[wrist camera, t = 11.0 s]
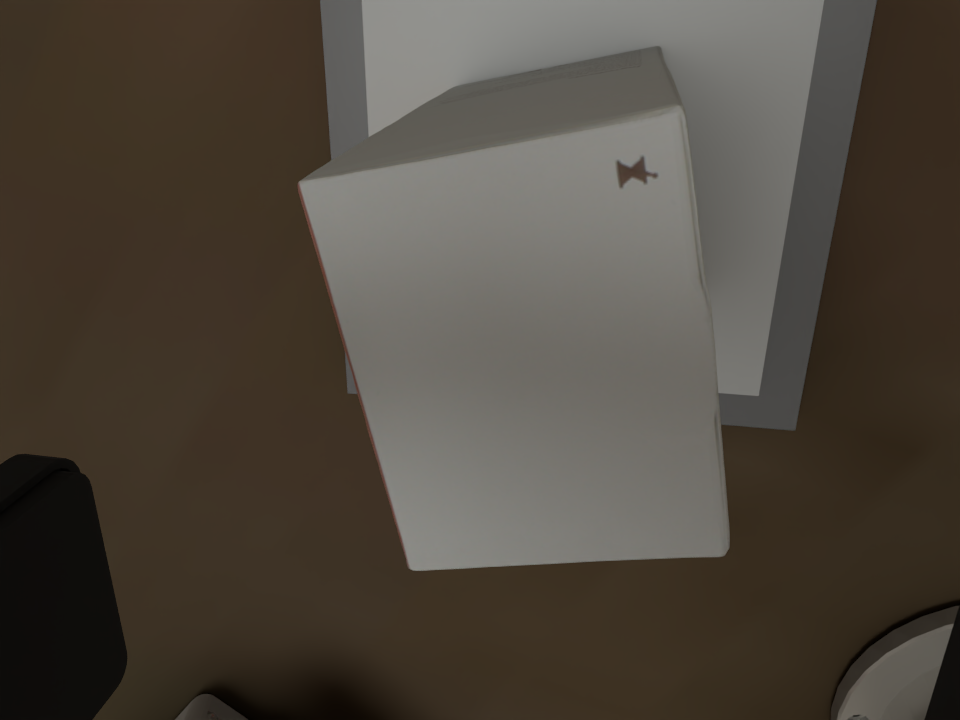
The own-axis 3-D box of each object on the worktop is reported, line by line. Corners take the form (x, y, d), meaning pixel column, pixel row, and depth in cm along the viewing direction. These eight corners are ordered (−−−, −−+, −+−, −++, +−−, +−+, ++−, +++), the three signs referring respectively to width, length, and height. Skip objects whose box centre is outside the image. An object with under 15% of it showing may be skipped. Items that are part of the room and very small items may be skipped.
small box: (449, 85, 25) (284, 171, 13) (663, 41, 23) (695, 94, 11) (500, 331, 28) (404, 581, 16) (692, 306, 26) (741, 562, 14)
